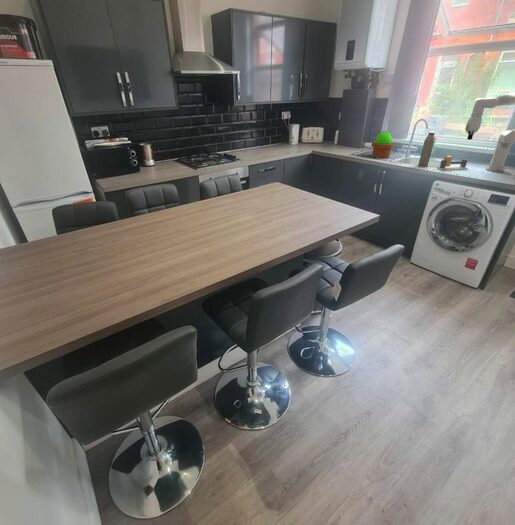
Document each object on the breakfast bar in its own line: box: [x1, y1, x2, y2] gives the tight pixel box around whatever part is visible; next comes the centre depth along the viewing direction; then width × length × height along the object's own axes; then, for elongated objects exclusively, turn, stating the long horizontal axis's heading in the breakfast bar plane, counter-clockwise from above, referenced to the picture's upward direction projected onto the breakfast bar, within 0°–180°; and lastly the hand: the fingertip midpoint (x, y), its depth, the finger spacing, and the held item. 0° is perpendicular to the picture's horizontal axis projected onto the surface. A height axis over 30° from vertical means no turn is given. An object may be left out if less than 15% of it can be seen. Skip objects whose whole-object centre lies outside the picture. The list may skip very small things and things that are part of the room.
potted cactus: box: [370, 130, 395, 159], centre depth 303 cm, size 22×22×25 cm
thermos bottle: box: [418, 132, 436, 167], centre depth 263 cm, size 8×8×28 cm
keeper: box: [443, 155, 453, 167], centre depth 254 cm, size 5×4×8 cm
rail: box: [436, 158, 468, 171], centre depth 256 cm, size 10×22×7 cm, turn 98°
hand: (469, 139), depth 249 cm, fingers closed
